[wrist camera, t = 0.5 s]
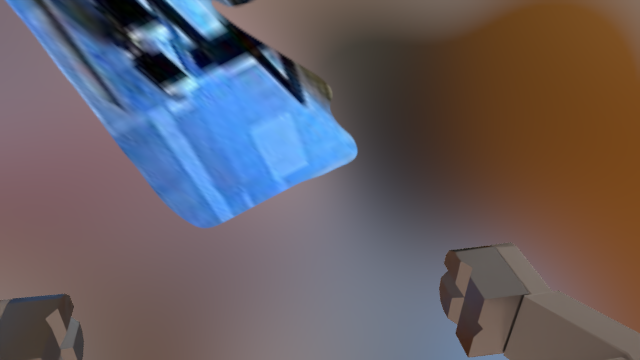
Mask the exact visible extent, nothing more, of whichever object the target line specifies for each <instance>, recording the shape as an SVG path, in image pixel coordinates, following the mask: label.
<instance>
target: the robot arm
mask: <svg viewBox="0 0 640 360" xmlns="http://www.w3.org/2000/svg"><path fill="white" fill-rule="evenodd" d="M444 264H445V266H446V267H447V269H448V271H447V272H446V273H445V274H444V275H443V276H442V277H441V281H440V287H439V290H440V300H441V304H442V307H443V310H444V312H445V314H446V316H447V318H448V319H450V320H451V321H453V322H454V323H456V324H457V329H456V335H457V337H458V339H459V341H460V343H461V345H462V347H463V349H464V351H465V353H466V354H467V356H468V357H476V356H485V355H493V354H500V353H504V356H506V357H507V358H508V359H509V360H640V334H639V333H638V332H636V331H634V330H632V329H630V328H628V327H626V326H624V325H622V324H621V323H619V322H617V321H615V320H613V319H611V318H609V317H607V316H605V315H604V314H602V313H599V312H598V311H596V310H594V309H592V308H590V307H588V306H586V305H584V304H582V303H581V302H579V301H577V300H575V299H573V298H571V297H569V296H567V295H565V294H564V293H562V292H560V291H554V292H552V290H551V289H550V288H549V287H548V285H547V284H546V283H545V282H544V280H543V279H542V278H541V276H540V275H539V274H538V273H537V272H536V270H535V269H534V268H533V267H532V265H531V264H530V263H529V261H528V260H527V259H526V258H525V256H524V255H523V254H522V253H521V251H520V250H519V249H518V247H517V246H516V245H514V244H512V243H503V244H495V245H490V246H481V247H472V248H464V249H457V250H449V251H448V253H447V254H446V257H445V262H444ZM73 308H74V305H73V303H72V300H71V298H70V296H69V295H67V294H58V295H47V296H36V297H25V298H14V299H10V300H0V360H82V359H83V349H84V348H83V347H84V339H83V332H82V328H81V325H80V322H79V321H77V320H75V319H74V318H72V317H71V316H72V312H73Z"/></svg>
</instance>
